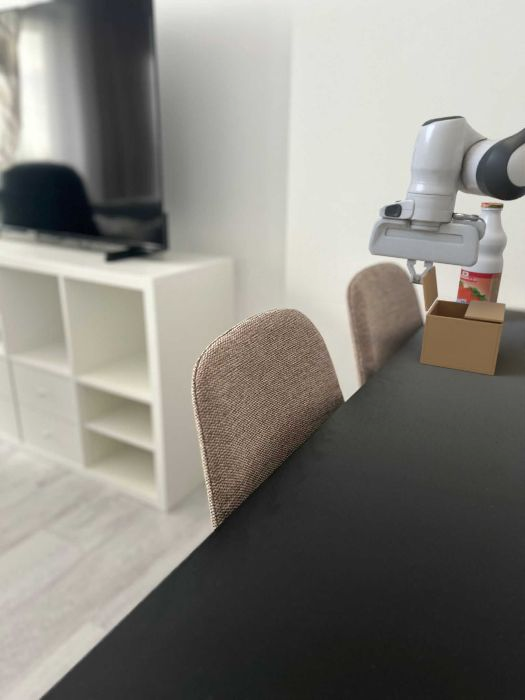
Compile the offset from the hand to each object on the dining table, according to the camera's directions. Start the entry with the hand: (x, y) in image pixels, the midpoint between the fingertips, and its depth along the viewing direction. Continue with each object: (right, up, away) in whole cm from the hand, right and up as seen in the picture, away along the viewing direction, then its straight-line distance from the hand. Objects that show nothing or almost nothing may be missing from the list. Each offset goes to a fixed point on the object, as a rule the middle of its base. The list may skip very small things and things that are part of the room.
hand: (416, 283), depth 100 cm
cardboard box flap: (+3, -1, -1) cm, 3 cm away
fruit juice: (+24, -5, +30) cm, 39 cm away
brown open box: (+9, -15, +1) cm, 17 cm away
